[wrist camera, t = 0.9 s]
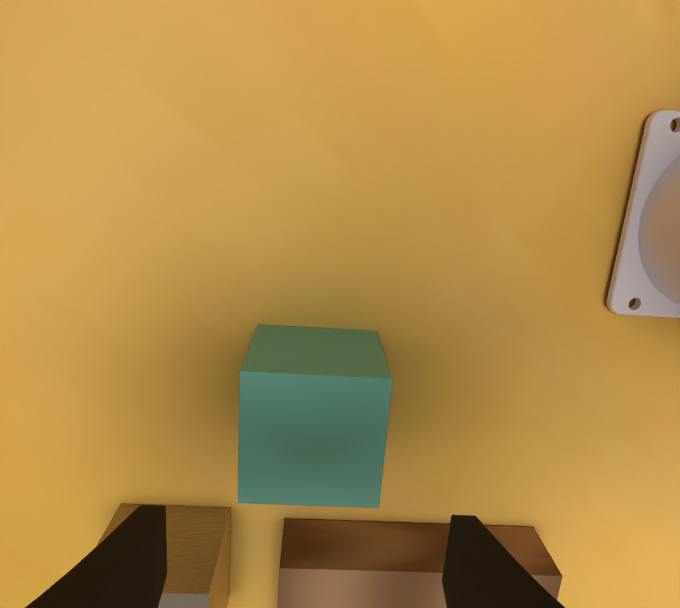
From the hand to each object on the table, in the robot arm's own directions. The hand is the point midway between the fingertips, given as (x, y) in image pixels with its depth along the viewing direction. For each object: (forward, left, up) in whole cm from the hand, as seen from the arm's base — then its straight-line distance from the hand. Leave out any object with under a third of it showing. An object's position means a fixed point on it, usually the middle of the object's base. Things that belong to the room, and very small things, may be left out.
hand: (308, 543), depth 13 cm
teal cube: (0, 0, -10) cm, 10 cm away
